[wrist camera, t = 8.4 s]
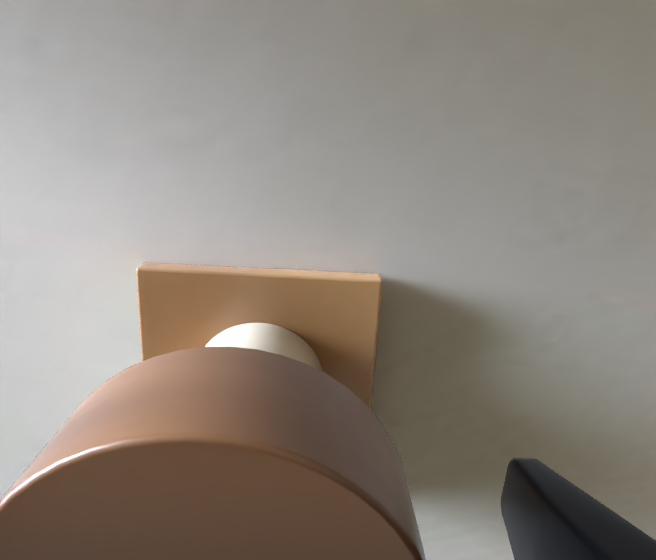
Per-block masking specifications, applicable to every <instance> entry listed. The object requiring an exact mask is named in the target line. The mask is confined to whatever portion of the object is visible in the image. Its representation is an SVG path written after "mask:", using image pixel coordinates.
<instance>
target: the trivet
mask: <svg viewBox="0 0 656 560" xmlns="http://www.w3.org/2000/svg"><path fill="white" fill-rule="evenodd" d="M136 277H137V292H138V307H139V322H140V337H141V353H142V361H145V360H147V359H150V358H152V357H156V356H159V355H163V354H167V353H171V352H174V351H178V350H185V349H192V348H200V347H205V346H206V344H207V343H208V342H209V341H210V340H211V339H212V338H214V337H215V336H216V335H218V334H219V333H221V332H223V331H224V330H226V329H229V328H231V327H233V326H237V325H241V324H246V323H268V324H273V325H277V326H280V327H283V328H285V329H287V330H289V331H291V332H293V333H295V334H296V335H298V336H299V337H301V338H302V339H303V340H304V341H305V342H306V343H307V344H308V345H309V346H310V347H311V348H312V349H313V351H314V352H315V354H316V355H317V357H318V360H319V362H320V364H321V367H322V371H323V372H324V373H326V374H328V375H329V376H331V377H332V378H334V379H335V380H337V381H338V382H340V383H341V384H343V385H344V386H346V387H347V388H348V389H350V390H351V391H352V392H353V393H354V394H355V395H356V396H358V397H359V398H360V399H361V400H362V401H363V402H364V403H366V405H367V406H368V407H369V408H371V398H372V387H373V377H374V367H375V356H376V346H377V335H378V325H379V314H380V304H381V293H382V283H383V282H382V279H381V277H380V275H379V274H372V273H352V272H332V271H311V270H291V269H271V268H250V267H230V266H210V265H189V264H169V263H149V262H145V263H143V264H141V265H140V266H139V267H138V268H137V269H136Z"/></svg>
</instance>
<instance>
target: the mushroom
mask: <svg viewBox="0 0 656 560" xmlns="http://www.w3.org/2000/svg"><path fill="white" fill-rule="evenodd" d="M0 560H426V559H425V554H424V550H423V546H422V542H421V538H420V534H419V530H418V525H417V521H416V517H415V513H414V509H413V505H412V501H411V496H410V492H409V488H408V484H407V480H406V476H405V472H404V469H403V465H402V461H401V458H400V455H399V453H398V451H397V449H396V446H395V444H394V442H393V440H392V438H391V436H390V435H389V433H388V432H387V430H386V428H385V427H384V425H383V424H382V422H381V421H380V419H379V418H378V417H377V416H376V415H375V414H374V413H373V411H372V410H371V409H370V408H369V407H368V406H367V405H366V403H364V402H363V401H362V400H361V399H360V398H359V397H358V396H356V395H355V394H354V393H353V392H352V391H351V390H350V389H348V388H347V387H346V386H344V385H343V384H341V383H340V382H338V381H337V380H335V379H334V378H332V377H331V376H329V375H328V374H326V373H324V372H323V371H322V367H321V364H320V362H319V360H318V357H317V355H316V354H315V352H314V351H313V349H312V348H311V347H310V346H309V345H308V344H307V343H306V342H305V341H304V340H303V339H302V338H301V337H299V336H298V335H296V334H295V333H293V332H291V331H289V330H287V329H285V328H283V327H280V326H277V325H273V324H268V323H246V324H241V325H237V326H233V327H231V328H229V329H226V330H224V331H223V332H221V333H219V334H218V335H216V336H215V337H214V338H212V339H211V340H210V341H209V342H208V343H207V344H206V346H205V347H200V348H192V349H185V350H178V351H174V352H171V353H167V354H163V355H159V356H156V357H152V358H150V359H147V360H145V361H142V362H140V363H138V364H135V365H133V366H130V367H129V368H127V369H125V370H123V371H122V372H120V373H118V374H116V375H115V376H113V377H111V378H110V379H108V380H107V381H106V382H104V383H103V384H102V385H101V386H99V387H98V388H97V389H95V390H94V391H93V392H92V393H91V394H90V395H89V396H88V397H87V398H86V399H85V400H84V401H83V402H82V403H81V404H80V405H79V406H78V408H77V409H76V410H75V411H74V412H73V413H72V415H71V416H70V417H69V418H68V419H67V421H66V422H65V423H64V424H63V425H62V427H61V428H60V429H59V430H58V431H57V432H56V434H55V435H54V436H53V437H52V438H51V440H50V441H49V442H48V443H47V444H46V446H45V447H44V448H43V449H42V450H41V452H40V453H39V454H38V455H37V456H36V458H35V459H34V460H33V461H32V462H31V464H30V465H29V466H28V467H27V468H26V470H25V471H24V472H23V473H22V474H21V476H20V477H19V478H18V479H17V480H16V482H15V483H14V484H13V485H12V486H11V487H10V489H9V490H8V491H7V492H6V493H5V495H4V496H3V497H2V498H1V499H0Z"/></svg>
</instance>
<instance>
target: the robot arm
mask: <svg viewBox="0 0 656 560" xmlns="http://www.w3.org/2000/svg"><path fill="white" fill-rule="evenodd" d="M501 510H502V515H503V519H504V522H505V526H506V530H507V533H508V537H509V540H510V544H511V548H512V551H513V555H514V558H515V560H656V540H654V539H653V538H651V537H650V536H648V535H647V534H645V533H644V532H642V531H641V530H639V529H638V528H637V527H635V526H634V525H632V524H631V523H629V522H628V521H626V520H625V519H623V518H622V517H620V516H619V515H618V514H616V513H615V512H613V511H612V510H610V509H609V508H607V507H606V506H604V505H603V504H601V503H600V502H599V501H597V500H596V499H594V498H593V497H591V496H590V495H588V494H587V493H585V492H584V491H582V490H581V489H580V488H578V487H577V486H575V485H574V484H572V483H571V482H569V481H568V480H566V479H565V478H563V477H562V476H561V475H559V474H558V473H556V472H555V471H553V470H552V469H550V468H549V467H547V466H546V465H544V464H543V463H542V462H540V461H538V460H537V459H531V458H513V459H511V460H510V462H509V463H508V466H507V471H506V476H505V481H504V486H503V491H502V496H501Z"/></svg>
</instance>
